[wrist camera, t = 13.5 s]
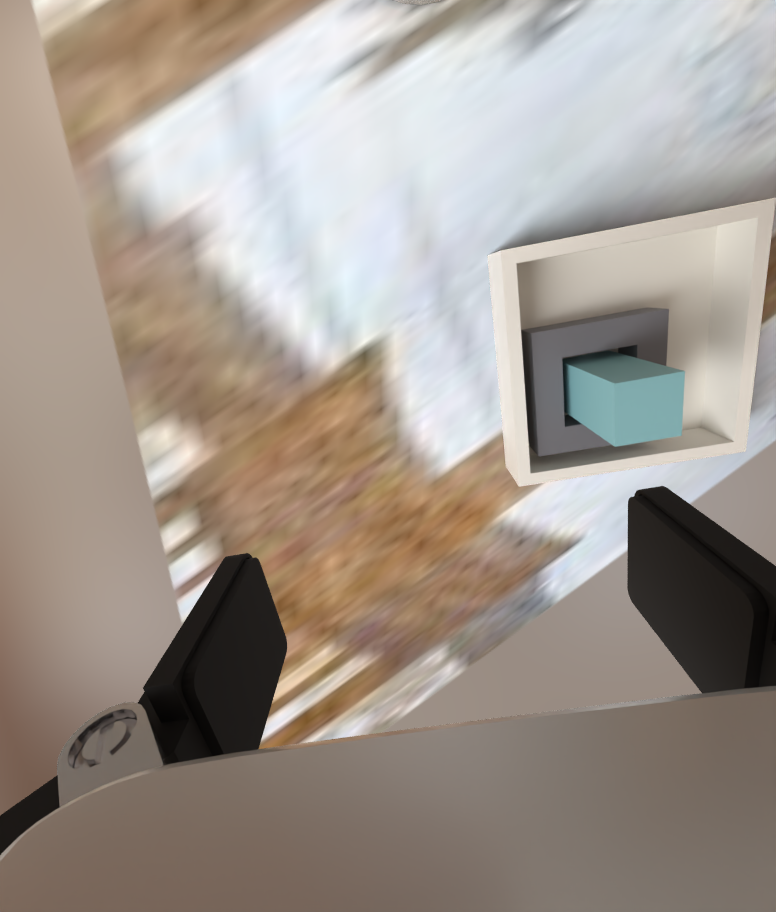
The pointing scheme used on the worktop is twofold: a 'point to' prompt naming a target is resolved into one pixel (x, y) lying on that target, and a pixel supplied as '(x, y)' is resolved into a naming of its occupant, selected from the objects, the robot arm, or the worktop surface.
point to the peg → (624, 397)
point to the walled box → (631, 334)
